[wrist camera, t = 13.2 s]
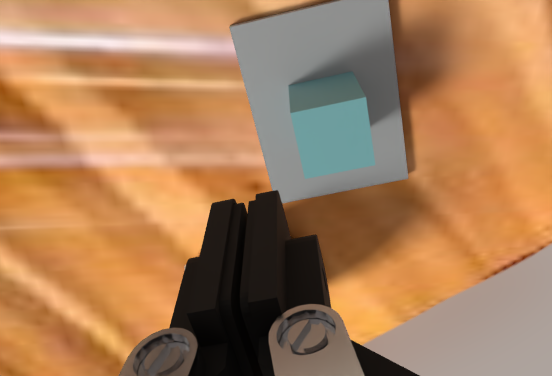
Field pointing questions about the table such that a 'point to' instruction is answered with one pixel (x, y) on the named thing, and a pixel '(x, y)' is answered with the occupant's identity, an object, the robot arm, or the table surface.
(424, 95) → the table surface
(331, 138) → the teal block
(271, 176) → the stand
